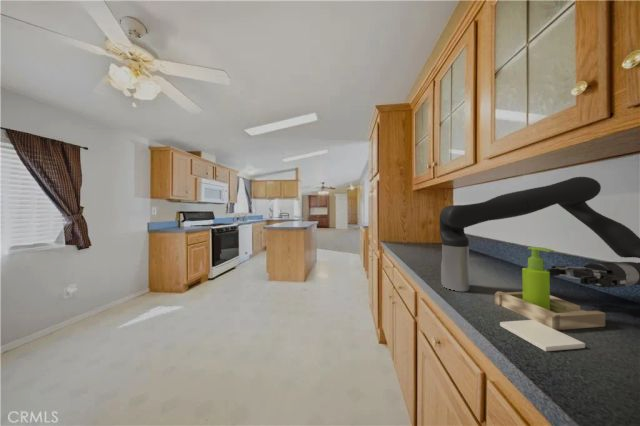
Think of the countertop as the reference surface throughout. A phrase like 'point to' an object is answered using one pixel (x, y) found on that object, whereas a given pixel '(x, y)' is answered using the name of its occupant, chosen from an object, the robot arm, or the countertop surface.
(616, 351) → the countertop surface
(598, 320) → the pine rack
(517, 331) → the cream tile
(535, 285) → the soap dispenser
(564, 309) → the offcut stack
